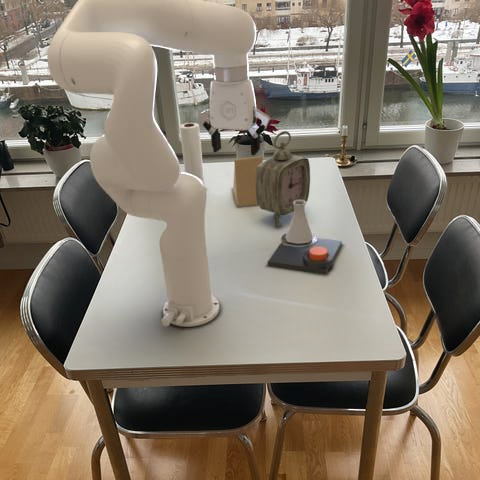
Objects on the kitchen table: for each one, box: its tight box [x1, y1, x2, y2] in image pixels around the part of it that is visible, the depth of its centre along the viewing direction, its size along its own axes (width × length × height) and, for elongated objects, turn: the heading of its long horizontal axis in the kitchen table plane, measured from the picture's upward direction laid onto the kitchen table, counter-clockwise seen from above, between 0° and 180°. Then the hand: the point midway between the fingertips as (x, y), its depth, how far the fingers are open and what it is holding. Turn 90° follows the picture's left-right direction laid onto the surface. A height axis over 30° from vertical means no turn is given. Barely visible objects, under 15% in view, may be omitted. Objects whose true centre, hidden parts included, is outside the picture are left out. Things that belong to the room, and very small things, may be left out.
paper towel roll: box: [179, 122, 206, 187], centre depth 172 cm, size 7×6×21 cm
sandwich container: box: [232, 156, 264, 208], centre depth 168 cm, size 9×15×15 cm, turn 6°
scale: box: [267, 237, 343, 276], centre depth 137 cm, size 16×16×3 cm
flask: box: [285, 200, 313, 244], centre depth 136 cm, size 7×7×10 cm
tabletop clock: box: [255, 130, 311, 228], centre depth 150 cm, size 14×9×25 cm, turn 137°
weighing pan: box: [280, 231, 319, 248], centre depth 139 cm, size 9×9×1 cm
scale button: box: [309, 247, 328, 261], centre depth 131 cm, size 4×4×2 cm
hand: (235, 151), depth 127 cm, fingers open, 9 cm apart
